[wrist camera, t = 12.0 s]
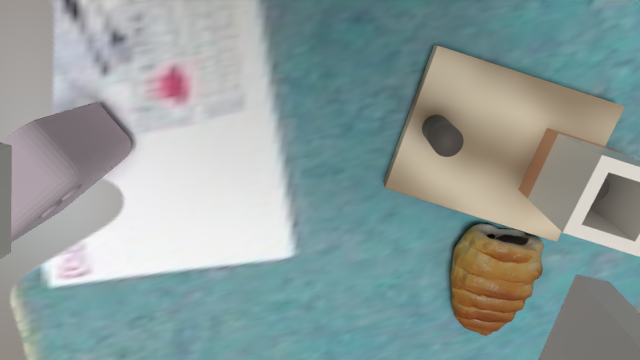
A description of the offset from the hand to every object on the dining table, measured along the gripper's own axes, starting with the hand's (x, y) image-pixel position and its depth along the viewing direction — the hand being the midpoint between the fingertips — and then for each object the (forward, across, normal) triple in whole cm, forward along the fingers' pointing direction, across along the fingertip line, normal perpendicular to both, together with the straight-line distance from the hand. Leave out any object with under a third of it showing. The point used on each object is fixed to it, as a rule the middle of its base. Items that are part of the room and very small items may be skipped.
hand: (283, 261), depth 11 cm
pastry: (+27, +16, -11) cm, 33 cm away
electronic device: (+27, -19, -10) cm, 34 cm away
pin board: (+27, +13, -1) cm, 30 cm away
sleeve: (+25, +18, -1) cm, 31 cm away
